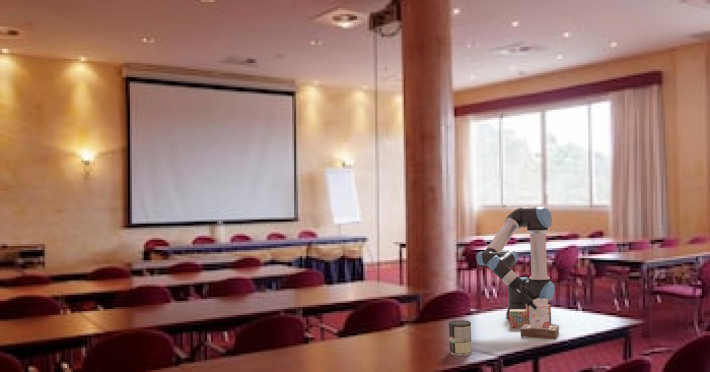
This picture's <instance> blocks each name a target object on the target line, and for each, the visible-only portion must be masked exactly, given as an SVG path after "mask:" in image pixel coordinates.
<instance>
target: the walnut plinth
mask: <svg viewBox="0 0 710 372" xmlns="http://www.w3.org/2000/svg"><path fill="white" fill-rule="evenodd" d="M559 327H560V325H557V324H556V325H553V324H551V325H549V327H544V328H532V327H530V324H525V325H524V326H523V327H522V328H520V338H532V339H533V338H538V339H553V340H556V339H557V338H558V336H559V334H560V328H559Z"/></svg>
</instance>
